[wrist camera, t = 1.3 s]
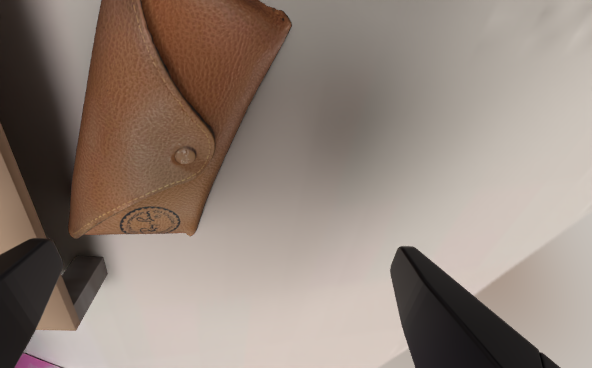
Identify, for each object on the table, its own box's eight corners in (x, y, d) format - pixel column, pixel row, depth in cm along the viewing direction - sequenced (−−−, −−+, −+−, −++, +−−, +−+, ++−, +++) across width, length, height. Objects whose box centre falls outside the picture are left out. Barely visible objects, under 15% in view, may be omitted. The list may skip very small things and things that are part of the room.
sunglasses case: (198, 243, 24) (123, 294, 19) (135, 191, 26) (46, 224, 20) (301, 11, 16) (223, -27, 10) (200, -50, 17) (79, -115, 11)
